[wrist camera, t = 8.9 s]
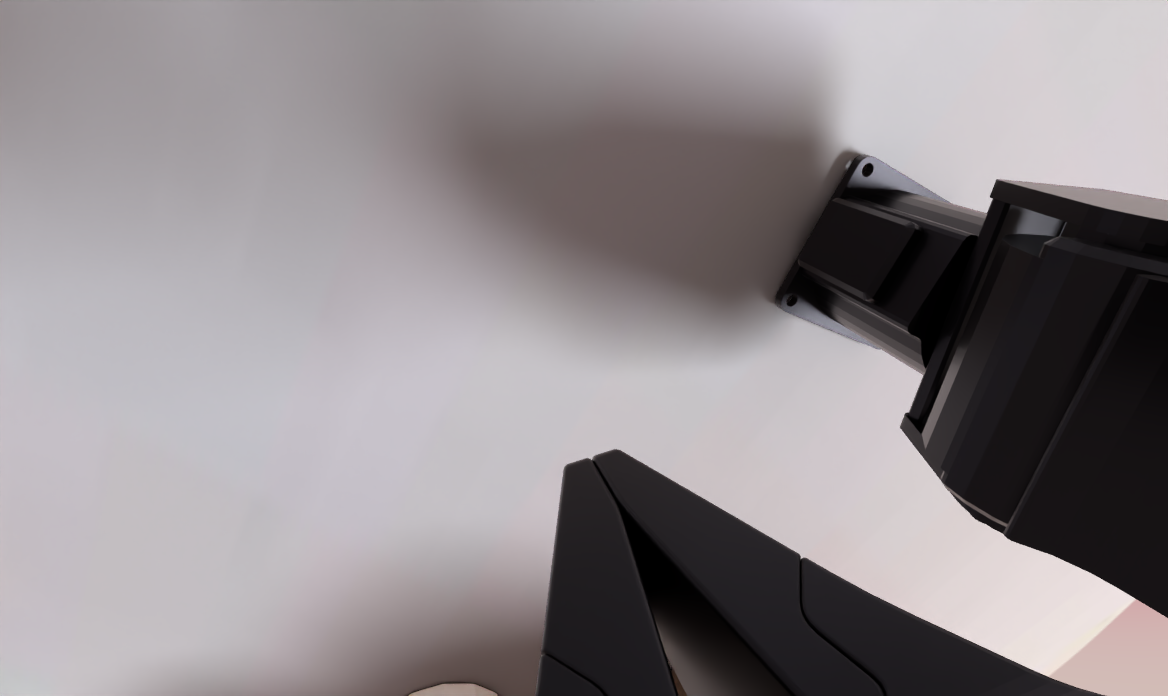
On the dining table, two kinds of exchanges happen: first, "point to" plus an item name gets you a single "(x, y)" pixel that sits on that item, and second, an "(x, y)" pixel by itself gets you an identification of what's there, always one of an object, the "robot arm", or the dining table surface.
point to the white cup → (455, 690)
